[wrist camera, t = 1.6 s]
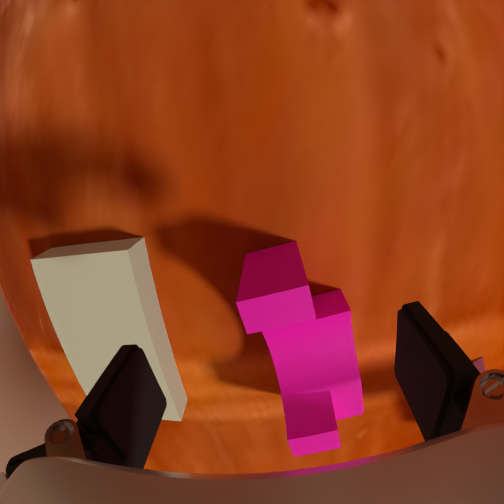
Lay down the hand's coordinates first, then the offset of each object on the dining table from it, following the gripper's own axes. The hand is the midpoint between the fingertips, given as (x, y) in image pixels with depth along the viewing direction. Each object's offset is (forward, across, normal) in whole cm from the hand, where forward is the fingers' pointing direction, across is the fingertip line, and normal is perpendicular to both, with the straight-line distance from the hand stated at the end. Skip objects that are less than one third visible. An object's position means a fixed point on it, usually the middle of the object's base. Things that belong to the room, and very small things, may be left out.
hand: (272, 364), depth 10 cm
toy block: (+13, -2, +7) cm, 15 cm away
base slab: (+13, +15, +5) cm, 21 cm away
